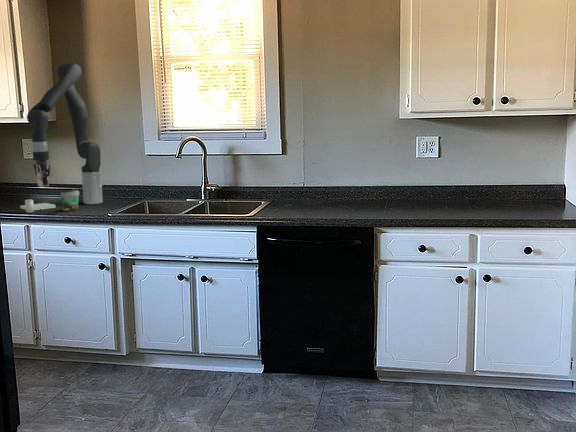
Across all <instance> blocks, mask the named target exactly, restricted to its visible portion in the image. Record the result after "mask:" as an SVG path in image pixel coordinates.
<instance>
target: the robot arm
mask: <svg viewBox="0 0 576 432" xmlns="http://www.w3.org/2000/svg"><path fill="white" fill-rule="evenodd" d="M56 70H57V77H58V80H59V81H57V83H55V85H53V86H51V88H49V89H48V90H47V91H46V92H45V94H44V95H43V96H42V97H41V99H40V100H39V102H37V103H36V104H35V105H34V106H33V107H32V108H30V110H29V111H28V113H27V115H26V120H27V122H28V123H29V124H31V125H35V129H32V131H31V149H32V151H31V152H32V160H33V161H35V163H33V169H34V173H35V176H37V172H40V173H42V177H43V185H48V181H47V177H48V178H49V177H50V173H51V165H49V164H48V162H47V161H49V160H50V154H49V152H50V151H49V145H48V136H47V135H48V134H47V131H48V127H49V116H48V113H49V112H51V111H52V110H53V109H54V108H55V106H56V105H57V104H58V102H59V101H60V99H61V98H62V97H63V96H64V98H65V101H66V105H67V109H68V114H69V118H70V120H71V124H72V128H73V134H74V139H75V145H76V151H77V154H78V155H79V158H81V159H84V160H85V164H84V165H83V166H81V181H82V184H81V185H82V197H83V198H82V199H83V201H82V202H83V204H84V205H85V204H86V205H95V204H103V203H104V202H103V198H104V197H103V185H101V177H100V176H101V173H100V169H101V163H102V162H101V161H102V160H101V159H102V158H101V156H102V154H101V148H100V145H99V143H97V142H95V141H94V142H93V141H90V140H89V137H88V129H87V128H88V125H89V117H90V116H89V111H88V108H87V104H86V102H85V101H84V99H83V98H82V96H81V95H80V94H79V93H78V90H77V89H76V87H75V83H76V82H78V80H80V78H81V76H82V72H83V71H82V67H81V66H80V64H78V63H76V62H65V63H60V64H59V65H58V67H57V69H56ZM47 172H48V174H47Z"/></svg>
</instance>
